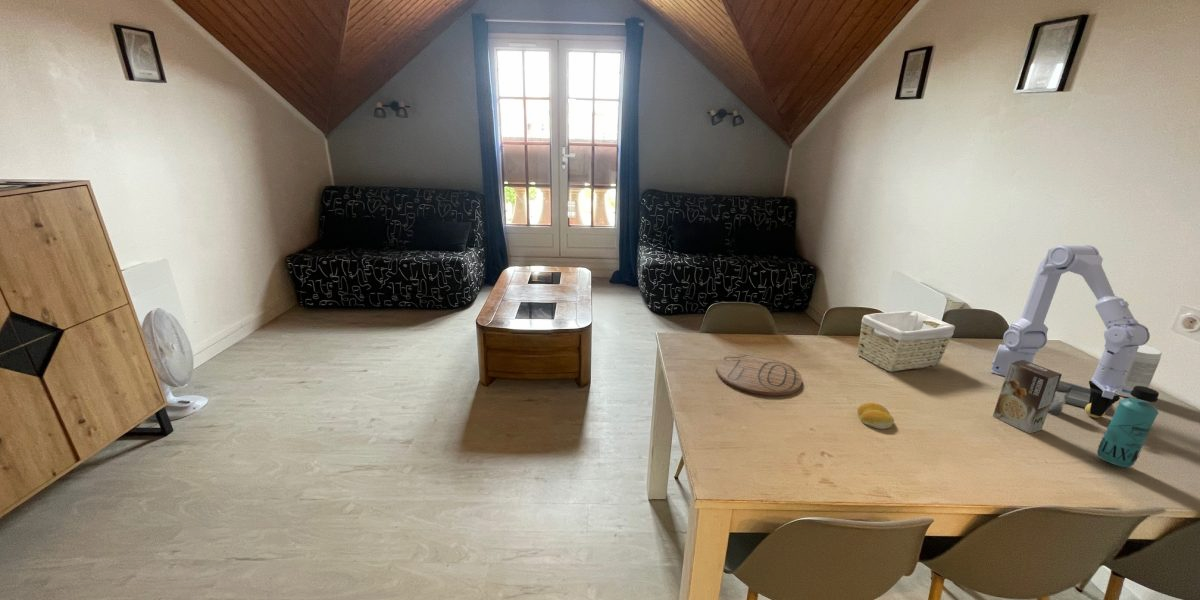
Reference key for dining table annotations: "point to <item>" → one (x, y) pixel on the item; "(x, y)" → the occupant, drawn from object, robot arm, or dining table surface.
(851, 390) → the dining table surface
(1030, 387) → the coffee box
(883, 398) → the dining table surface
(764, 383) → the trivet
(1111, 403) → the robot arm
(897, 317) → the storage basket
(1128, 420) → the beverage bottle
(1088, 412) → the ball
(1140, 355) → the supplement tub
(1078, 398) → the dish
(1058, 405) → the shaker cup
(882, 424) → the bread roll
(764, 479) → the dining table surface
